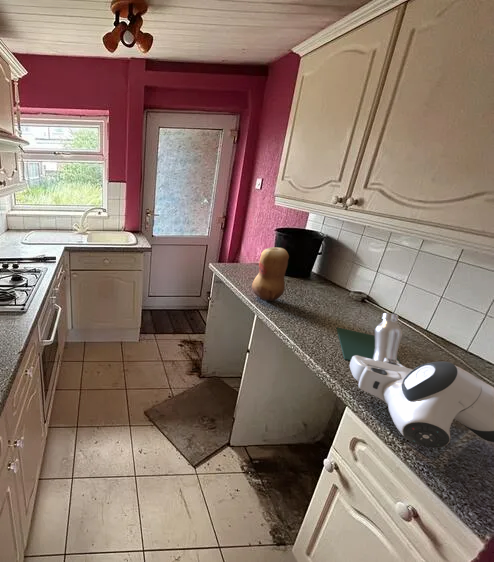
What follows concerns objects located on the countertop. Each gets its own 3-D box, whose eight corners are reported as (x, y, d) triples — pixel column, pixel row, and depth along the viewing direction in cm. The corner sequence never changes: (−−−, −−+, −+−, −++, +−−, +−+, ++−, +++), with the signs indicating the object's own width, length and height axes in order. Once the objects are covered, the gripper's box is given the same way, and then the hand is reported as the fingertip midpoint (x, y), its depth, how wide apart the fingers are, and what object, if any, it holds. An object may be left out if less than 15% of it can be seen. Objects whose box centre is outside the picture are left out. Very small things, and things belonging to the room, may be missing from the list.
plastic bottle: (363, 377, 92) (372, 311, 94) (373, 379, 95) (381, 315, 98) (391, 383, 86) (399, 313, 89) (400, 385, 90) (408, 317, 92)
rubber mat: (406, 375, 96) (406, 374, 96) (344, 359, 103) (344, 358, 102) (387, 339, 116) (387, 338, 115) (336, 328, 122) (336, 327, 122)
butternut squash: (244, 294, 151) (254, 244, 142) (269, 293, 154) (280, 243, 145) (261, 306, 139) (273, 252, 129) (288, 305, 141) (301, 252, 132)
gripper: (466, 395, 72) (443, 363, 83) (359, 367, 80) (351, 341, 92) (454, 416, 74) (433, 382, 85) (351, 386, 83) (344, 359, 94)
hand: (390, 361), depth 89 cm, fingers closed, pressing on plastic bottle
